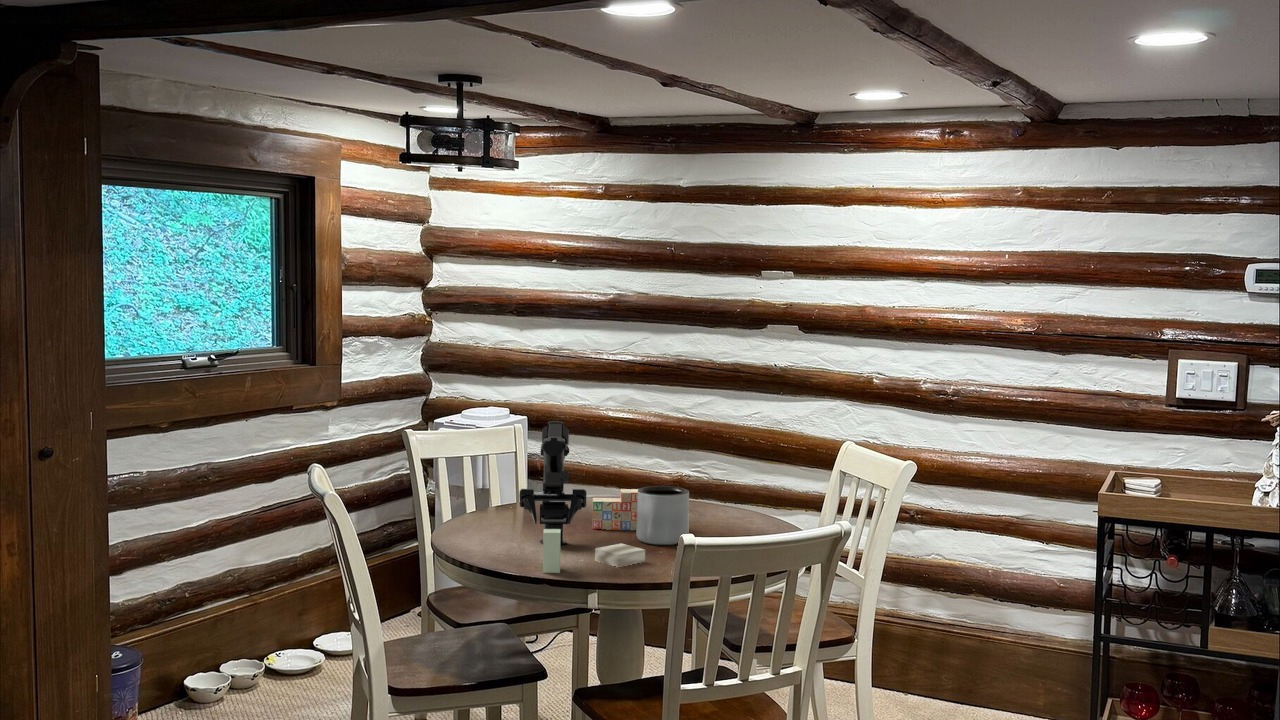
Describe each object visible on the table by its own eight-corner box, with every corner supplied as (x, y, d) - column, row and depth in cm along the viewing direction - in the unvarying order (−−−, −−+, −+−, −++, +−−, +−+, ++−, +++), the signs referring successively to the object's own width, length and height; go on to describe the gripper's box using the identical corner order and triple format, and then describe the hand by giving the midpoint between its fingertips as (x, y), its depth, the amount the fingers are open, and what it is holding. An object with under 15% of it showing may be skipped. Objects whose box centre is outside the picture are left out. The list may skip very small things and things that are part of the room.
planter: (682, 534, 351) (683, 485, 350) (693, 545, 336) (694, 494, 335) (632, 535, 349) (633, 485, 348) (641, 547, 333) (642, 495, 332)
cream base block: (594, 562, 315) (595, 548, 315) (621, 556, 322) (621, 543, 322) (618, 569, 308) (618, 555, 308) (644, 563, 315) (645, 549, 314)
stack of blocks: (592, 530, 355) (592, 491, 354) (592, 525, 361) (592, 488, 361) (659, 530, 356) (659, 492, 355) (658, 526, 362) (658, 489, 361)
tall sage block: (543, 568, 306) (543, 528, 305) (560, 568, 306) (560, 528, 306) (542, 572, 301) (543, 532, 301) (559, 572, 302) (560, 532, 301)
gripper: (520, 460, 312) (517, 507, 302) (586, 460, 313) (586, 507, 303) (521, 483, 321) (518, 529, 310) (586, 483, 322) (586, 529, 311)
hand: (552, 523), depth 308 cm, fingers open, 9 cm apart
